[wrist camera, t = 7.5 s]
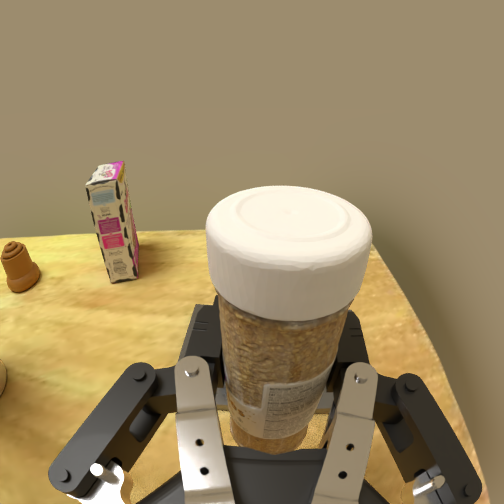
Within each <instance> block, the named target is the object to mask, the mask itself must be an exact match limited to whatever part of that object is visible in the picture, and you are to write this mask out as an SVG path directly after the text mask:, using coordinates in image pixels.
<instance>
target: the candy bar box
mask: <svg viewBox="0 0 504 504" xmlns="http://www.w3.org/2000/svg"><path fill="white" fill-rule="evenodd" d="M85 186H86V191H87V195H88V200H89V204H90V209H91V213H92V217H93V222H94V226H95V230H96V234H97V237H98V241H99V245H100V248H101V252H102V255H103V259H104V262H105V266H106V269H107V272H108V275H109V278H110V282H111V283H116V282H121V281H128V280H134V279H138V247H139V244H138V239H137V234H136V229H135V224H134V220H133V214H132V209H131V203H130V197H129V190H128V184H127V178H126V172H125V164H124V161H120V162H114V163H109V164H104V165H100V166H98V168H97V169H96V170H95V172H94V173H93V175H92V176H91V178H90V179H89V181H88V182H87V183H86V185H85Z"/></svg>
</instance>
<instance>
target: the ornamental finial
mask: <svg viewBox="0 0 504 504" xmlns="http://www.w3.org/2000/svg"><path fill="white" fill-rule="evenodd" d="M0 259H1V262H2V264H3V267H4V269H5V272H6V274H7V285H8V287H9V288H10V289H11V290H12V291H15V292H22V291H25V290H27V289H29V288H30V287H32V286H33V285H34V284H35V283H36V281H37V280H38V278H39V273H40V271H39V267H38V266H37V264H36V263H34V262H32V260H31V258H30V256H29V253H28V251H27V249H26V247H25V245H24V244H21V243H19V242H15V241H12V242H9V243H8V244H6V245H5V247H4V250H3V252H2V255H1V258H0Z"/></svg>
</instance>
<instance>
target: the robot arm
mask: <svg viewBox="0 0 504 504" xmlns="http://www.w3.org/2000/svg"><path fill="white" fill-rule="evenodd" d="M220 324H221V321H220V310H219V300H218V295H216V296H215V300H214V304H213V306H209V305H204V306H203V307H202V308H201V309H200V310H199V312H198V313H197V316H196V319H195V323H194V326H193V330H192V333H191V336H190V339H189V343H188V346H187V350H186V353H185V356H184V358H182V359H181V360H179V361H178V363H177V364H176V365H175V366H172V367H169V368H162V369H154V368H153V367H152V366H151V365H149V364H147V363H143V362H139V363H135V364H132V365H130V366H129V367H128V368H127V369H126V370H125V371H124V373H123V374H122V375H121V376H120V378H119V379H118V380H117V381H116V383H115V384H114V385H113V386H112V388H111V389H110V390H109V391H108V393H107V394H106V395H105V396H104V398H103V399H102V400H101V401H100V403H99V404H98V405H97V406H96V408H95V409H94V410H93V411H92V413H91V414H90V415H89V416H88V418H87V419H86V420H85V421H84V423H83V424H82V425H81V427H80V428H79V429H78V430H77V432H76V433H75V434H74V436H73V437H72V438H71V439H70V441H69V442H68V443H67V445H66V446H65V447H64V448H63V450H62V451H61V452H60V454H59V455H58V456H57V458H56V459H55V460H54V461H53V463H52V464H51V466H50V468H49V471H48V476H49V480H50V482H51V484H52V485H53V487H55V488H56V489H57V490H59V491H61V492H63V493H65V494H67V495H68V496H70V497H72V498H74V499H77V500H79V501H80V502H82V503H83V504H131V501H130V493H131V490H132V488H133V480H132V477H131V476H130V474H129V473H128V472H129V471H130V469H131V468H132V466H133V465H134V464H135V462H136V461H137V459H138V458H139V456H140V455H141V453H142V452H143V450H144V449H145V447H146V446H147V444H148V443H149V441H150V440H151V438H152V437H153V435H154V434H155V432H156V431H157V429H158V428H159V426H160V425H161V423H162V422H163V420H164V419H165V417H166V416H167V414H168V413H174V412H177V413H176V429H177V438H178V447H179V455H180V463H181V470H180V471H179V472H178V473H177V474H175V475H174V476H173V477H172V478H170V479H169V480H168V481H166V482H165V483H164V484H162V485H161V486H160V487H158V488H157V489H156V490H154V491H153V492H152V493H150V494H149V495H147V496H146V497H145V498H143V499H142V500H140V501H139V502H137V503H136V504H390V503H389V502H387V501H386V500H385V499H384V498H383V497H382V496H381V495H380V494H379V493H378V492H377V491H376V490H375V489H374V488H373V487H372V486H371V485H370V484H369V483H368V482H367V481H366V480H365V479H364V475H365V471H366V466H367V462H368V458H369V453H370V448H371V443H372V438H373V433H374V427H375V422H376V424H377V426H378V428H379V430H380V432H381V434H382V436H383V438H384V440H385V442H386V444H387V446H388V448H389V450H390V452H391V454H392V456H393V458H394V460H395V462H396V464H397V466H398V468H399V470H400V472H401V474H402V477H403V479H404V481H405V483H406V484H405V485H404V487H403V489H402V491H401V499H402V504H474V503H475V502H476V501H477V500H478V499H479V497H480V495H481V492H482V483H481V480H480V478H479V477H478V475H477V473H476V471H475V469H474V467H473V465H472V463H471V461H470V460H469V458H468V456H467V454H466V452H465V450H464V449H463V447H462V445H461V443H460V442H459V440H458V438H457V436H456V435H455V433H454V431H453V429H452V428H451V426H450V424H449V423H448V421H447V419H446V418H445V416H444V414H443V413H442V411H441V409H440V408H439V406H438V404H437V403H436V401H435V400H434V398H433V396H432V395H431V393H430V392H429V390H428V388H427V387H426V385H425V384H424V382H423V381H422V379H421V378H420V377H418V376H417V375H415V374H411V373H406V374H403V375H401V376H399V378H398V379H395V378H390V377H386V376H382V375H380V374H378V373H377V372H376V370H375V369H374V368H373V367H372V366H371V365H370V363H369V359H368V354H367V350H366V346H365V341H364V337H363V333H362V330H361V325H360V321H359V319H358V317H357V316H356V315H355V314H354V312H352V311H348V313H347V317H346V320H345V324H344V327H343V331H342V334H341V336H340V340H339V343H338V351H337V354H336V358H335V360H334V363H333V366H332V369H331V372H330V374H329V377H328V380H327V383H326V393H327V392H333V397H334V400H333V402H332V405H331V408H330V412H329V416H328V419H327V423H326V426H325V430H324V433H323V436H322V439H321V442H320V444H319V447H318V449H299V450H295V451H291V452H286V453H281V454H276V455H273V454H269V453H265V452H262V451H258V450H255V449H251V448H248V447H237V446H227V445H224V442H223V437H222V432H221V427H220V422H219V417H218V411H217V406H216V400H215V398H216V392H217V388H224V382H225V376H224V365H223V356H222V334H221V325H220ZM6 378H7V374H6V368H5V366H4V364H3V362H2V361H1V360H0V396H1V394H2V392H3V390H4V387H5V384H6Z"/></svg>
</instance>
